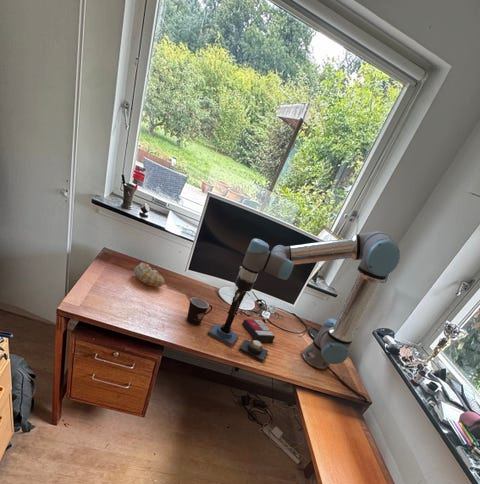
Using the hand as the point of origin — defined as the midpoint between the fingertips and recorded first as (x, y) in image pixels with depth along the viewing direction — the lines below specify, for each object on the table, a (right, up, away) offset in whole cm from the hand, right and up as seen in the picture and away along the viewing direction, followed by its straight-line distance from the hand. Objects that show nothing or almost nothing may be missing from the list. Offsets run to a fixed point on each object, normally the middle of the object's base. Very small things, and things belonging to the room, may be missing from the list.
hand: (227, 326), depth 157 cm
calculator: (+15, +1, +18) cm, 24 cm away
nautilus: (-41, +27, +15) cm, 51 cm away
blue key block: (-2, -4, +3) cm, 6 cm away
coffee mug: (-15, +3, +3) cm, 15 cm away
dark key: (-1, -2, +1) cm, 2 cm away
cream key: (+13, -9, +2) cm, 16 cm away
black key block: (+12, -11, +4) cm, 17 cm away
